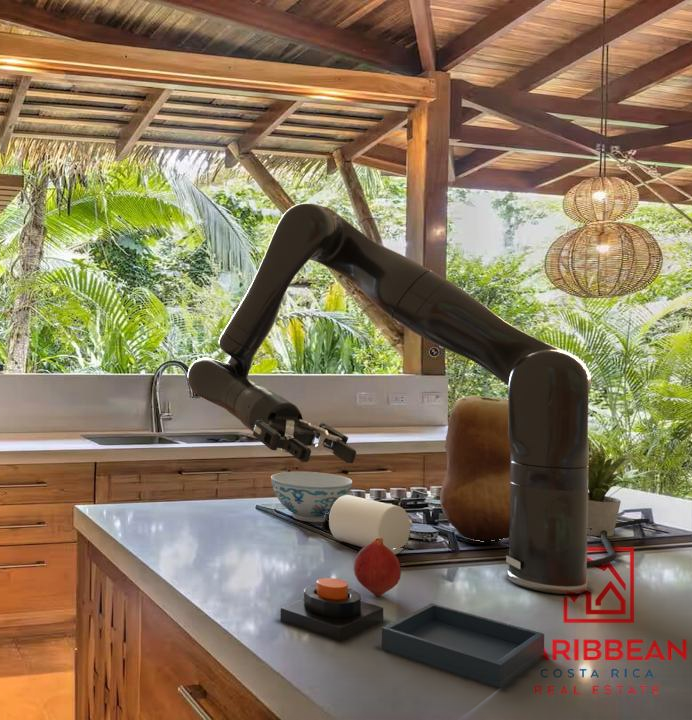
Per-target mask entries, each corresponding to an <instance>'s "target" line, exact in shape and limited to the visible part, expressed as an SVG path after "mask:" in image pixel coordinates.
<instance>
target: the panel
mask: <svg viewBox="0 0 692 720" xmlns="http://www.w3.org/2000/svg"><path fill="white" fill-rule="evenodd" d="M303 591H304V592H303V599H300V600H297V601H295V602H292V603H290V604H288V605H286V606H283V607H281V608H280V622H281V623H284V624H287V625H289V626H292V627H295V628H299V629H302V630H305V631H307V632H310V633H313V634H316V635H319V636H322V637H325V638H328V639H331V640H333V641H336V642H339V643H341V642H343V641H346V640H347V639H350V638H351V637H353V636H354V637H355V635H358V634H359V633H362V632H364V631H366V630H368V629H369V628H370V629H371V627H374V626H376V625H377V624H380V623H382V622H384V607H383V606H379V605H376V604H372V603H370V602H367V601H362V599H361V598H362V597H361V596H362V595H361V594H360V593H359V592H357V591H356V590H354V589H352V588H348V598H347V599H339V600H337V599H328V598H324V597H320V596H318V595H317V584H312V585H309V586H307V587H305V588H304V590H303Z"/></svg>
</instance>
